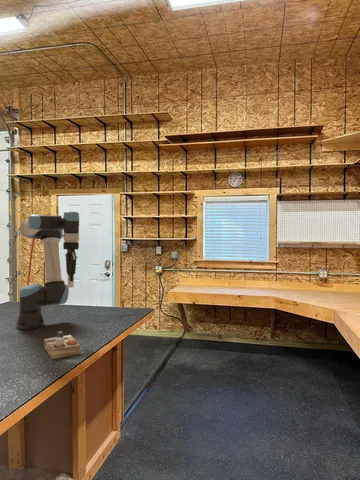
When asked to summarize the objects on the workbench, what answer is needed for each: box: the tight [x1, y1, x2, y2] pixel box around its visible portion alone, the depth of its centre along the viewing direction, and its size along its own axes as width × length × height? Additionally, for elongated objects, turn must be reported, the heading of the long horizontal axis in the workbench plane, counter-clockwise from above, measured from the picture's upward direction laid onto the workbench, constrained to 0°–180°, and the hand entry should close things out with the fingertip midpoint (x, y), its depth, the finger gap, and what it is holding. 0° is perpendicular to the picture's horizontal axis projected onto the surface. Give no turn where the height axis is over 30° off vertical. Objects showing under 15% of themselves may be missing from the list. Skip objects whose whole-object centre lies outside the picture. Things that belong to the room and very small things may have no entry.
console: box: [43, 334, 81, 360], centre depth 147 cm, size 16×12×4 cm
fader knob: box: [56, 330, 64, 338], centre depth 150 cm, size 3×2×3 cm
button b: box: [55, 338, 64, 347], centre depth 143 cm, size 4×4×3 cm
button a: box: [68, 338, 77, 346], centre depth 146 cm, size 4×4×3 cm
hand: (70, 287), depth 164 cm, fingers closed
